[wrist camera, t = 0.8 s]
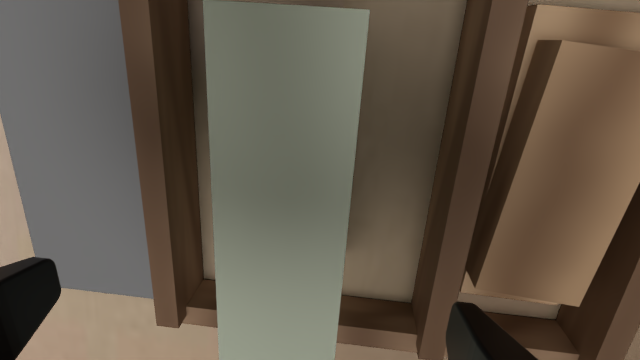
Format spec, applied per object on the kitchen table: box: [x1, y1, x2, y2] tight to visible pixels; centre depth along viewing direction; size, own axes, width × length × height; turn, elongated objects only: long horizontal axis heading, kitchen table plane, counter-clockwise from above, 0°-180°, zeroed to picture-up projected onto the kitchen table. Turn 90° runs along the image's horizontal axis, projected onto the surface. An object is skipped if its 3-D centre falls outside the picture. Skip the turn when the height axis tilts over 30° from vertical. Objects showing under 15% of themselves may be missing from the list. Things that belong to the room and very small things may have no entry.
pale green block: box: [203, 0, 370, 360], centre depth 15 cm, size 4×12×9 cm, turn 176°
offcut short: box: [465, 40, 640, 307], centre depth 16 cm, size 5×11×2 cm, turn 172°
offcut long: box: [460, 4, 640, 305], centre depth 18 cm, size 5×14×2 cm, turn 175°
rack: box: [118, 0, 640, 360], centre depth 17 cm, size 23×20×4 cm
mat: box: [0, 0, 154, 299], centre depth 20 cm, size 8×19×1 cm, turn 176°
